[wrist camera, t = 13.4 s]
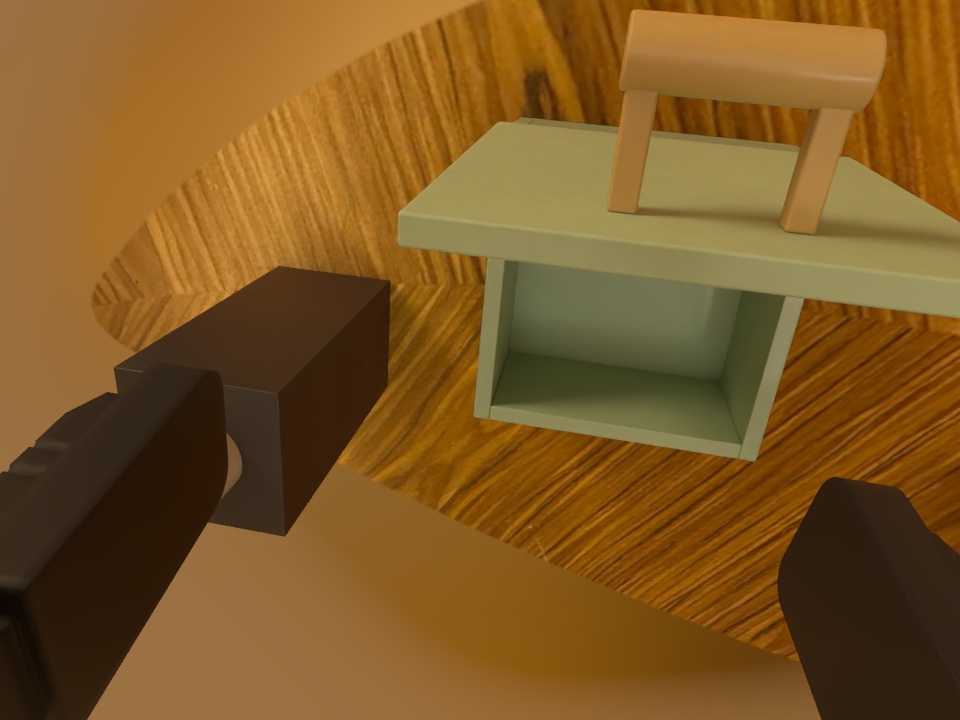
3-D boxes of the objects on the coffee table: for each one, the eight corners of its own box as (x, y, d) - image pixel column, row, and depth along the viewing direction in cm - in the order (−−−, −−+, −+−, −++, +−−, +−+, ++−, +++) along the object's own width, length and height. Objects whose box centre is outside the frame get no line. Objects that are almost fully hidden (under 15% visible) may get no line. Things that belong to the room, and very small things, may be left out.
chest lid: (1068, 333, 13) (1217, 54, 11) (396, 247, 15) (400, -12, 12) (845, 178, 26) (892, 34, 23) (496, 141, 27) (507, 3, 25)
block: (282, 370, 43) (136, 509, 30) (278, 265, 40) (112, 367, 27) (387, 386, 42) (285, 537, 29) (390, 280, 40) (278, 393, 26)
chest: (728, 389, 39) (755, 462, 32) (496, 355, 40) (473, 417, 33) (793, 144, 33) (844, 166, 26) (520, 116, 35) (498, 130, 28)
